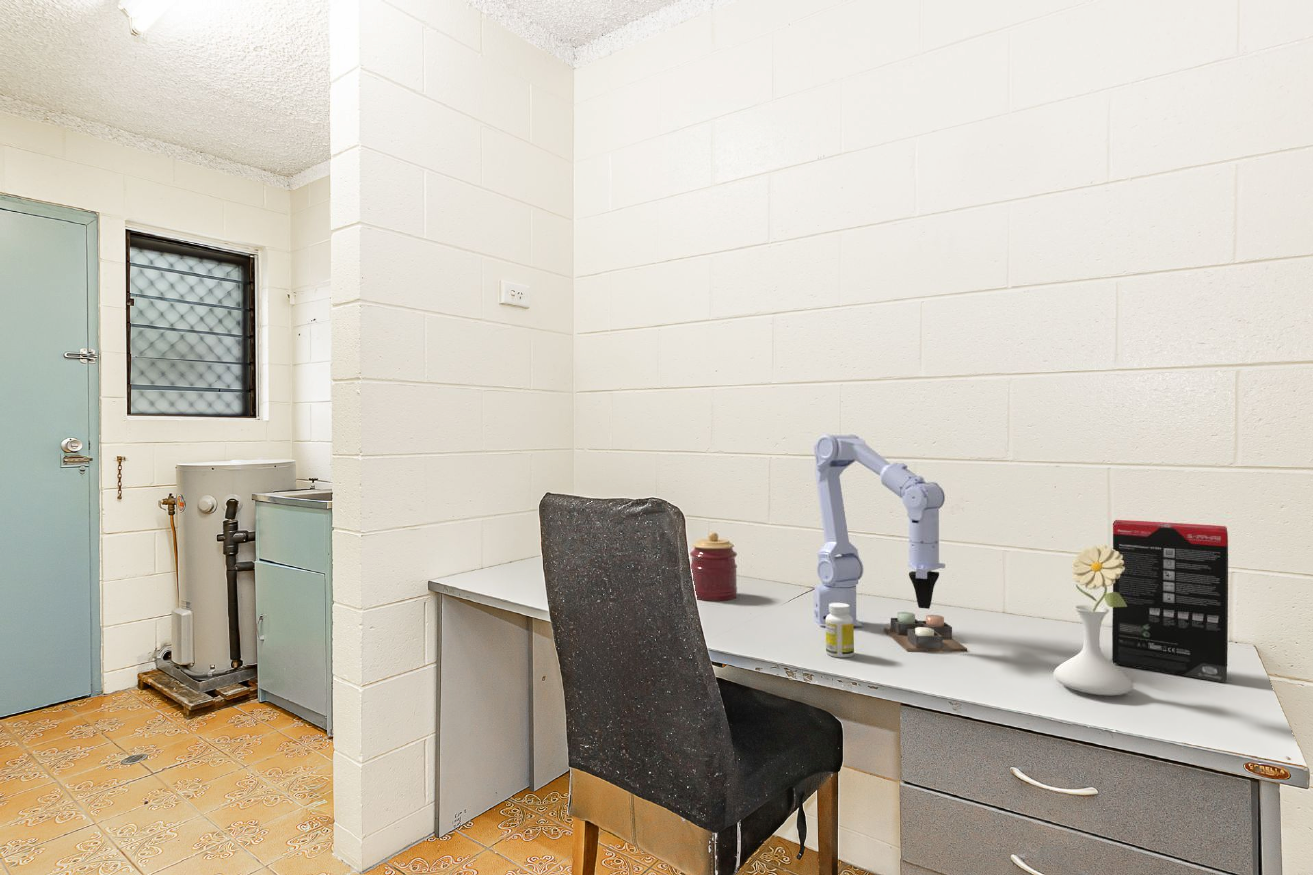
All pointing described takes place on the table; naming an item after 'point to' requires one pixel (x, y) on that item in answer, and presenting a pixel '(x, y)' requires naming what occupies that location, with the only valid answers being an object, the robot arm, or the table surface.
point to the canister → (714, 569)
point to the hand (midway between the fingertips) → (924, 607)
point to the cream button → (924, 631)
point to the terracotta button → (934, 621)
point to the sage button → (906, 617)
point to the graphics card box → (1172, 598)
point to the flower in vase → (1095, 626)
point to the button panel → (923, 637)
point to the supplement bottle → (839, 631)
